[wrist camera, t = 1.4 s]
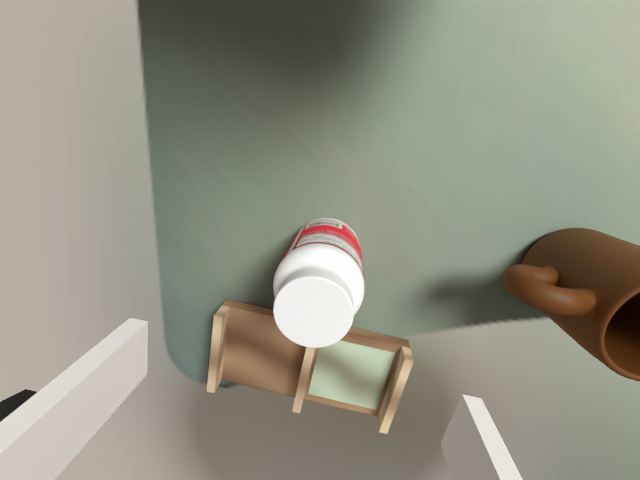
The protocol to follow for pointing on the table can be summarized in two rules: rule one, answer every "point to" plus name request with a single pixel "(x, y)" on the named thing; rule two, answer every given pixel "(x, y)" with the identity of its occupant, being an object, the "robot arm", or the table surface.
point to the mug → (586, 292)
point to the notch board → (309, 363)
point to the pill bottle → (319, 284)
